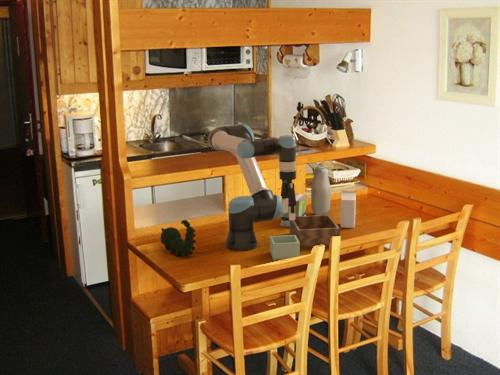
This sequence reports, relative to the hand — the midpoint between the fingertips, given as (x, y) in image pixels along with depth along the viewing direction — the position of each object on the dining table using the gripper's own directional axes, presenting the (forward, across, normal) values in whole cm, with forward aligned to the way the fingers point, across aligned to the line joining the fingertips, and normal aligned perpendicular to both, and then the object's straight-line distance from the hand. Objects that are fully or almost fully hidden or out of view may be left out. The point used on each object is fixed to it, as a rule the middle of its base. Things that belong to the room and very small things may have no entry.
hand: (288, 216), depth 300 cm
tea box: (+17, +46, -13) cm, 51 cm away
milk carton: (+18, +35, -39) cm, 56 cm away
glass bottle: (+16, +56, -31) cm, 66 cm away
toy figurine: (+17, +13, +50) cm, 55 cm away
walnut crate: (+18, +18, -16) cm, 30 cm away
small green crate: (+18, -1, +3) cm, 18 cm away
